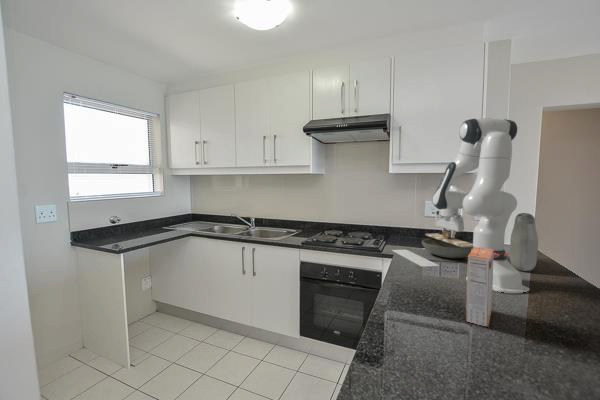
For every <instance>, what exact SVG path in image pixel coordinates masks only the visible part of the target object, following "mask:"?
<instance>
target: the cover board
mask: <svg viewBox="0 0 600 400" xmlns="http://www.w3.org/2000/svg"><path fill="white" fill-rule="evenodd" d="M451 233H452V232H451V230H446V231H442V234H440V233H436V232H435V233H425V236H426V237H430V238H431V239H439V240H442V241H445V242H448V243H451V244H454V245H457V246H460V247H472V246H473V242H472V243H471V242H469V243H468V241H465V240H461V239H457V238H456V236H455V237H454V238H450V235H451Z"/></svg>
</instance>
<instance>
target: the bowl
mask: <svg viewBox="0 0 600 400" xmlns="http://www.w3.org/2000/svg"><path fill="white" fill-rule="evenodd" d="M467 242H468V241H467ZM468 243H470V242H468ZM421 245H422V246H423V247H424V249H425V250H426V251H428V252H429V253H431V254H432V255H435V256H438V257H440V258H445V259H453V260H457V259H464V258H466V257H467V258H468V255H469V254H470V253H471V249H472V247H460V246H457V245H454V244H451V243H448V242H445V241H442V240H439V239H435V238H425V239H422V240H421Z"/></svg>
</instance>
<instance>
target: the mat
mask: <svg viewBox="0 0 600 400" xmlns="http://www.w3.org/2000/svg"><path fill="white" fill-rule="evenodd" d="M391 251H392V252H394V253H395V254H397V255H400V256H401V257H403V258H405V259H407V260H409V261H410V262H412V263H414V264H416V265H418V266H419V267H439V266H440V265H439V264H438V263H435V262H433V261H431V260H428V259H427V258H425V257H423V256H420V255H418V254H416V253H414V252H412V251H410V250H408V249H391Z"/></svg>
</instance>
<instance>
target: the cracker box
mask: <svg viewBox="0 0 600 400" xmlns="http://www.w3.org/2000/svg"><path fill="white" fill-rule="evenodd" d="M493 256H494V250H493V249H486V248H479V247H474V248H473V249H472V251H471V253H470V254H469V255H468V256H467V271H466V272H467V273H466V275H467V276H466V277H467V280H466V315H465V316H466V319H465V320H466V321H467V322H470V323H469V324H471V323H474V324H473V325H475V324H477V325H476V326H479V325H482V326H487V327H488V328H489V326H490V325H489V324H490V320H491V317H490V316H492V312H491V311H492V309H493V290H492V289H493ZM467 322H466V323H467ZM482 326H481V327H482Z"/></svg>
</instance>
